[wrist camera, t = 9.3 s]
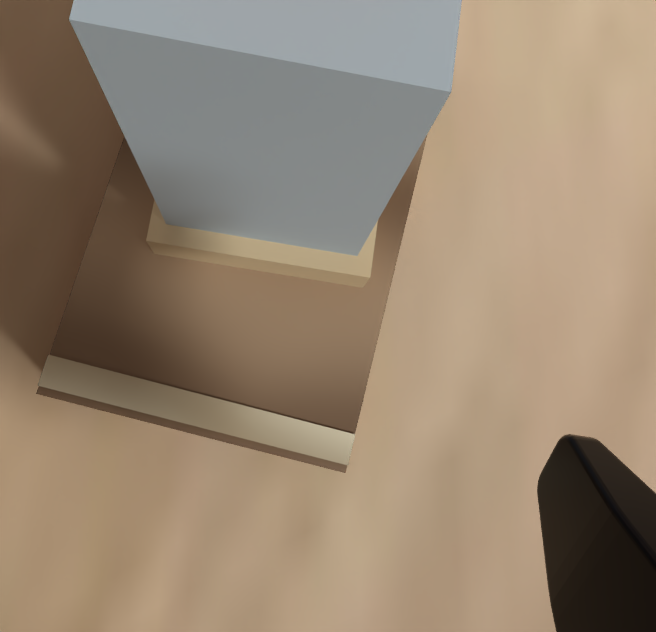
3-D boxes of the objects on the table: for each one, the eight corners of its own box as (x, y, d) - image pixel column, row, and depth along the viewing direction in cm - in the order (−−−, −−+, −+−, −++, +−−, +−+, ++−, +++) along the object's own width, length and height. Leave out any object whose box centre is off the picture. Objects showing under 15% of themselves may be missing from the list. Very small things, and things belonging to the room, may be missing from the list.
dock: (334, 466, 19) (345, 473, 16) (66, 397, 18) (34, 393, 16) (435, 53, 21) (459, 2, 19) (204, -16, 21) (196, -78, 18)
